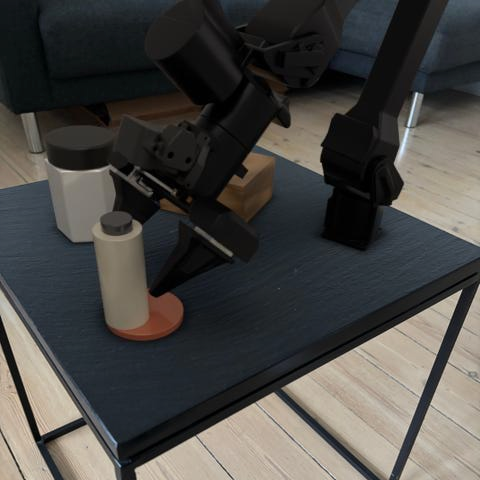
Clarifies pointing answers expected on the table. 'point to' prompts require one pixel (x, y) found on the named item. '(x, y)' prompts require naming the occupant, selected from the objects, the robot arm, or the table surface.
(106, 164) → the jar
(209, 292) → the table surface
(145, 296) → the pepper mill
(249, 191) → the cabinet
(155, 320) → the disc
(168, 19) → the robot arm
